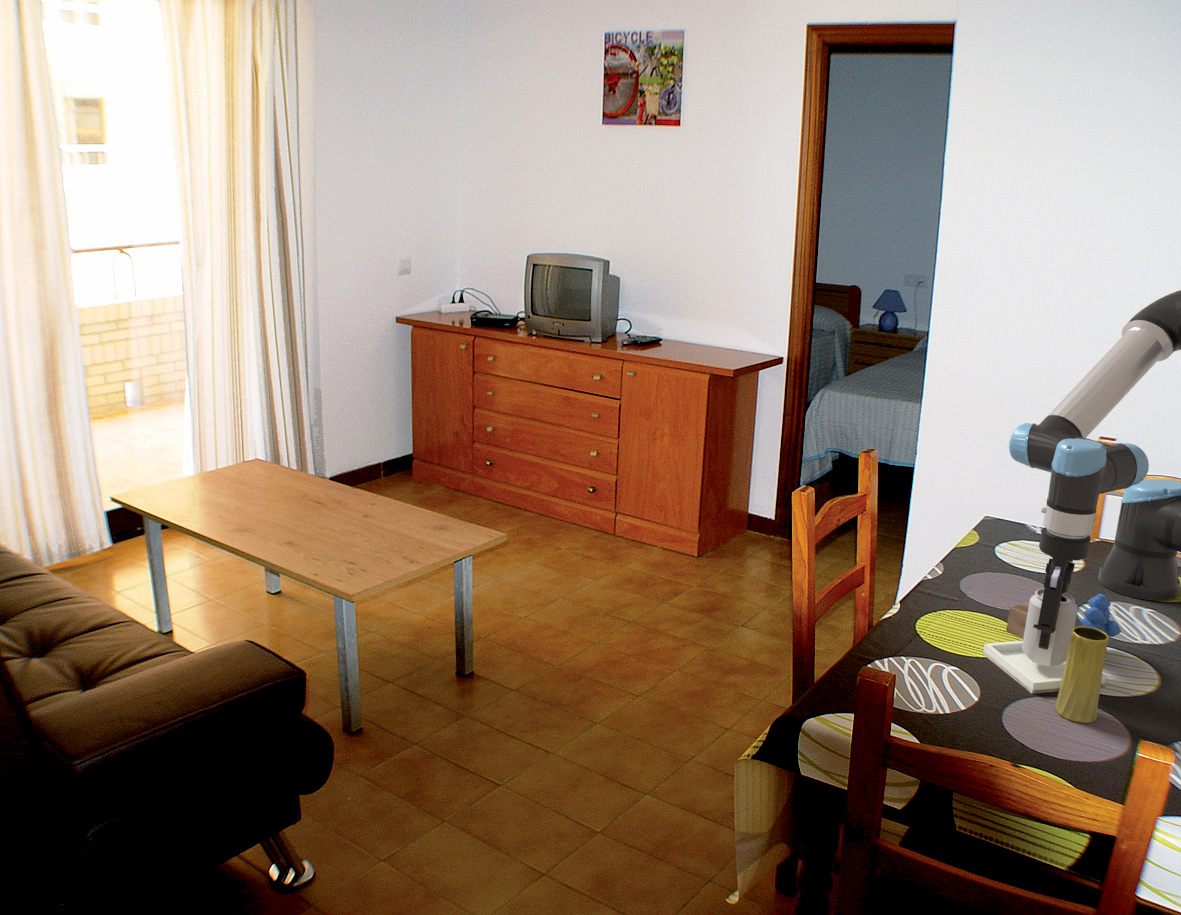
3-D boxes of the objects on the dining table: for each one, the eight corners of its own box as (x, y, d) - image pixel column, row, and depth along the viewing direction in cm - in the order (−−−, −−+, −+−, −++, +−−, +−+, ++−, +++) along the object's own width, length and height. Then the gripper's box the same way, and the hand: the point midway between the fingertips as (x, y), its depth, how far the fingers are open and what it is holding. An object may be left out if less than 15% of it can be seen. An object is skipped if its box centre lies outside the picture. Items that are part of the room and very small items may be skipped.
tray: (1051, 647, 178) (1053, 638, 178) (1104, 686, 165) (1106, 676, 165) (982, 653, 175) (984, 643, 175) (1031, 693, 162) (1033, 683, 162)
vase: (1047, 703, 159) (1061, 624, 155) (1082, 703, 160) (1097, 624, 156) (1067, 724, 154) (1083, 642, 149) (1104, 723, 154) (1120, 642, 150)
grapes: (1109, 674, 169) (1121, 611, 166) (1067, 662, 173) (1078, 600, 170) (1121, 649, 178) (1133, 589, 175) (1081, 638, 182) (1092, 579, 179)
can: (1073, 670, 165) (1084, 605, 162) (1026, 665, 167) (1036, 601, 163) (1061, 650, 173) (1072, 587, 169) (1017, 645, 174) (1027, 583, 170)
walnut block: (1022, 625, 187) (1026, 602, 186) (1045, 636, 183) (1050, 612, 182) (1005, 631, 185) (1009, 607, 183) (1029, 642, 180) (1033, 618, 179)
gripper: (1052, 510, 173) (1032, 626, 180) (1031, 544, 157) (1010, 671, 163) (1098, 518, 169) (1076, 637, 176) (1082, 555, 153) (1059, 684, 159)
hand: (1045, 653), depth 169 cm, fingers closed on can, 7 cm apart
